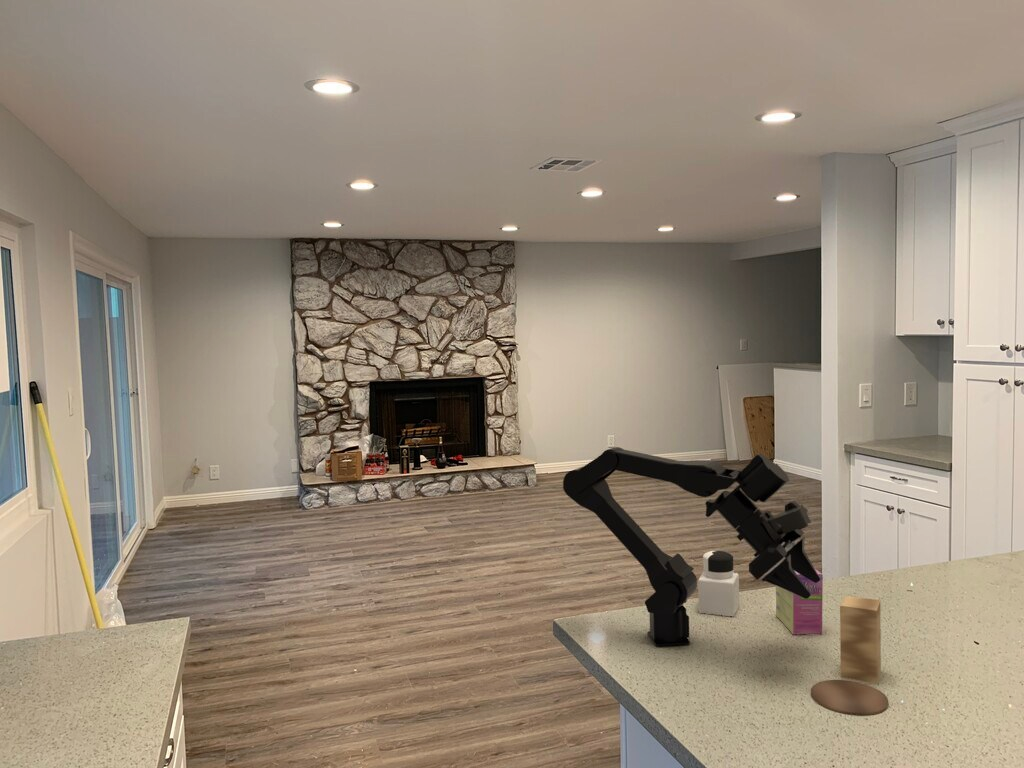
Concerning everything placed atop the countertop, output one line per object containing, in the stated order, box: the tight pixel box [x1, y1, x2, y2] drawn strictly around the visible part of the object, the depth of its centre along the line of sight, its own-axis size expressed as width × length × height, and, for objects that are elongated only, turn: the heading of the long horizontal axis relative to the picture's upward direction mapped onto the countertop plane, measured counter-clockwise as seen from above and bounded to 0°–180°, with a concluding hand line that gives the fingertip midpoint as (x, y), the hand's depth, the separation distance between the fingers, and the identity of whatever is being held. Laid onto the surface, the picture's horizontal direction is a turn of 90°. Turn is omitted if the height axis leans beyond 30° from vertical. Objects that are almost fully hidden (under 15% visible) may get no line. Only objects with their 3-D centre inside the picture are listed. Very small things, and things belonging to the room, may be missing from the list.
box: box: [775, 568, 824, 636], centre depth 150 cm, size 10×6×12 cm, turn 179°
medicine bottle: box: [697, 550, 740, 618], centre depth 160 cm, size 7×7×12 cm
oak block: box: [839, 595, 882, 684], centre depth 128 cm, size 6×6×12 cm
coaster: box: [810, 679, 889, 716], centre depth 119 cm, size 11×11×1 cm
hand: (813, 588), depth 131 cm, fingers open, 9 cm apart
